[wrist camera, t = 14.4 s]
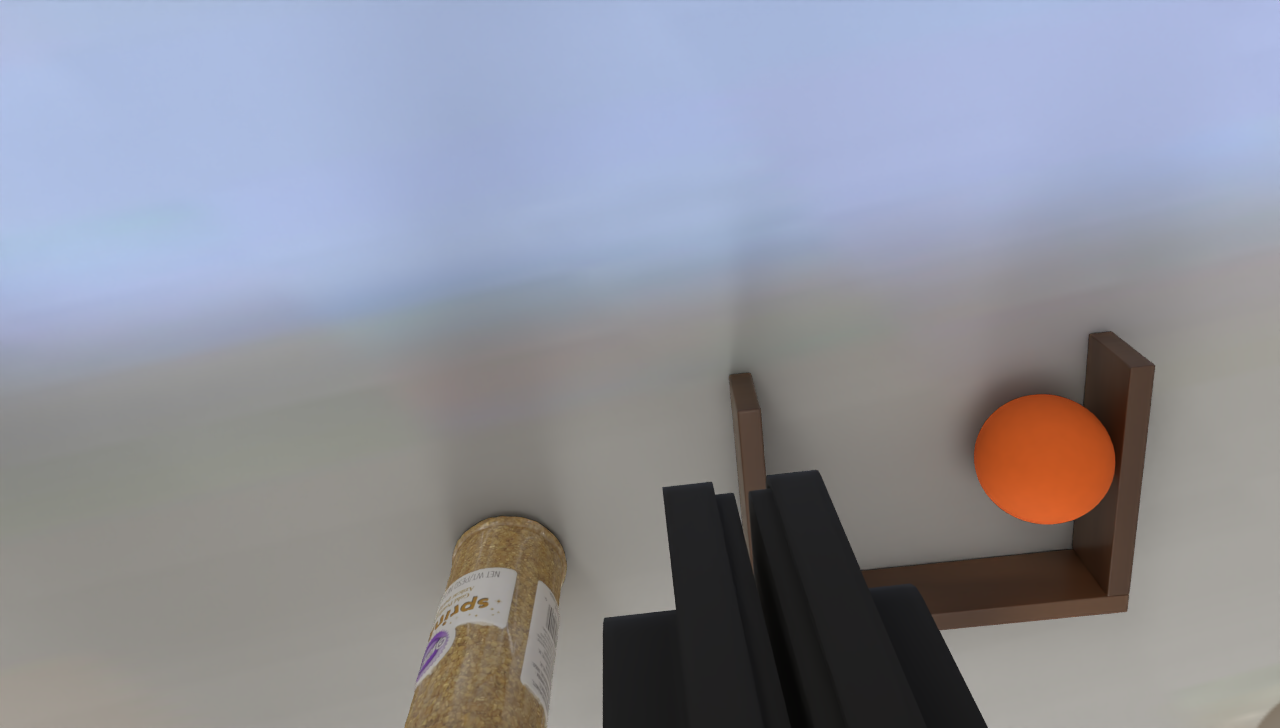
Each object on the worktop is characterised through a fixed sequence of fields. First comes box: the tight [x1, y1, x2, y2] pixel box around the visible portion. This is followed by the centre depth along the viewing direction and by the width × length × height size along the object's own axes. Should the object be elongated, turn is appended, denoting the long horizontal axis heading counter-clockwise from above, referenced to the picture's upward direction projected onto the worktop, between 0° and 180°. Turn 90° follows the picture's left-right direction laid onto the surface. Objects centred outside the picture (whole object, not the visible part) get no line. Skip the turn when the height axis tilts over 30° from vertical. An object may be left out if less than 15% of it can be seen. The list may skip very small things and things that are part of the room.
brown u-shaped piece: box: [729, 332, 1155, 630], centre depth 33 cm, size 14×10×3 cm
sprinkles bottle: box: [405, 516, 567, 728], centre depth 30 cm, size 5×5×14 cm
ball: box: [974, 394, 1115, 524], centre depth 32 cm, size 4×4×4 cm
